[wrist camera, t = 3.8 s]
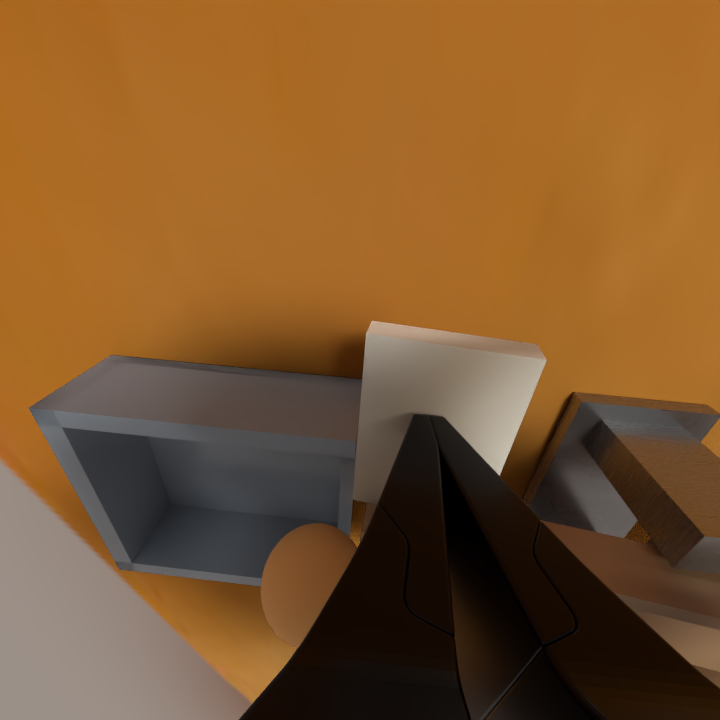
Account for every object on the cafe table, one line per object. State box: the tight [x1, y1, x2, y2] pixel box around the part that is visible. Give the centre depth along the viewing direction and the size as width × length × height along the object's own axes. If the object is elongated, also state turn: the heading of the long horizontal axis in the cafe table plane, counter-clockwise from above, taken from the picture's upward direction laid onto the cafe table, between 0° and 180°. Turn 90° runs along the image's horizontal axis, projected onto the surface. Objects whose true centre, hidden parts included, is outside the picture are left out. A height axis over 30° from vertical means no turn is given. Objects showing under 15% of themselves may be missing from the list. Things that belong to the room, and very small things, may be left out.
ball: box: [261, 523, 357, 647], centre depth 11 cm, size 3×3×3 cm
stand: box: [365, 392, 720, 574], centre depth 13 cm, size 20×10×5 cm, turn 86°
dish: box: [29, 355, 362, 586], centre depth 14 cm, size 10×9×4 cm
